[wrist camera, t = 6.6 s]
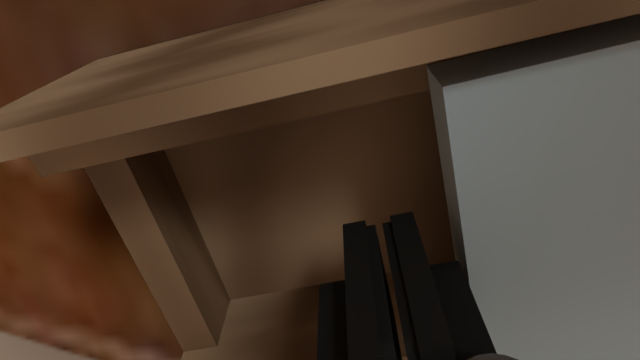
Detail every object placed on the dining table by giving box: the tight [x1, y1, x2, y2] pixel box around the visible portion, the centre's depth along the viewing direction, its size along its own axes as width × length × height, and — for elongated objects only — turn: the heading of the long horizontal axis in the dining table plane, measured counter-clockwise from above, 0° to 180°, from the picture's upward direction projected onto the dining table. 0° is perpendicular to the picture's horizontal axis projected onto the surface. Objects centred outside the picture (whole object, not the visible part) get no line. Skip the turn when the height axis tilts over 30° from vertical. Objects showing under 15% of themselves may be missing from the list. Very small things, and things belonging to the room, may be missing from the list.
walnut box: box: [0, 0, 640, 360], centre depth 12 cm, size 22×11×7 cm, turn 104°
